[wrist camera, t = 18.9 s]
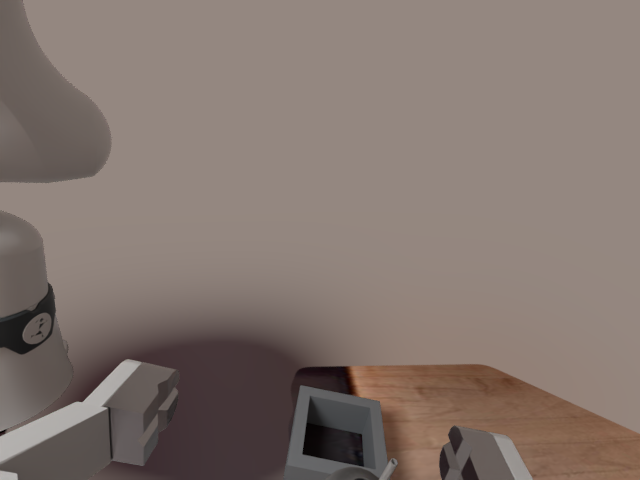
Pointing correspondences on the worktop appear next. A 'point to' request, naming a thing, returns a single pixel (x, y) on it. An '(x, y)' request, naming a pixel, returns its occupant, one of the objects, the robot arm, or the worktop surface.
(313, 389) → the holder block
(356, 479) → the beverage cup
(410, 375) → the worktop surface
